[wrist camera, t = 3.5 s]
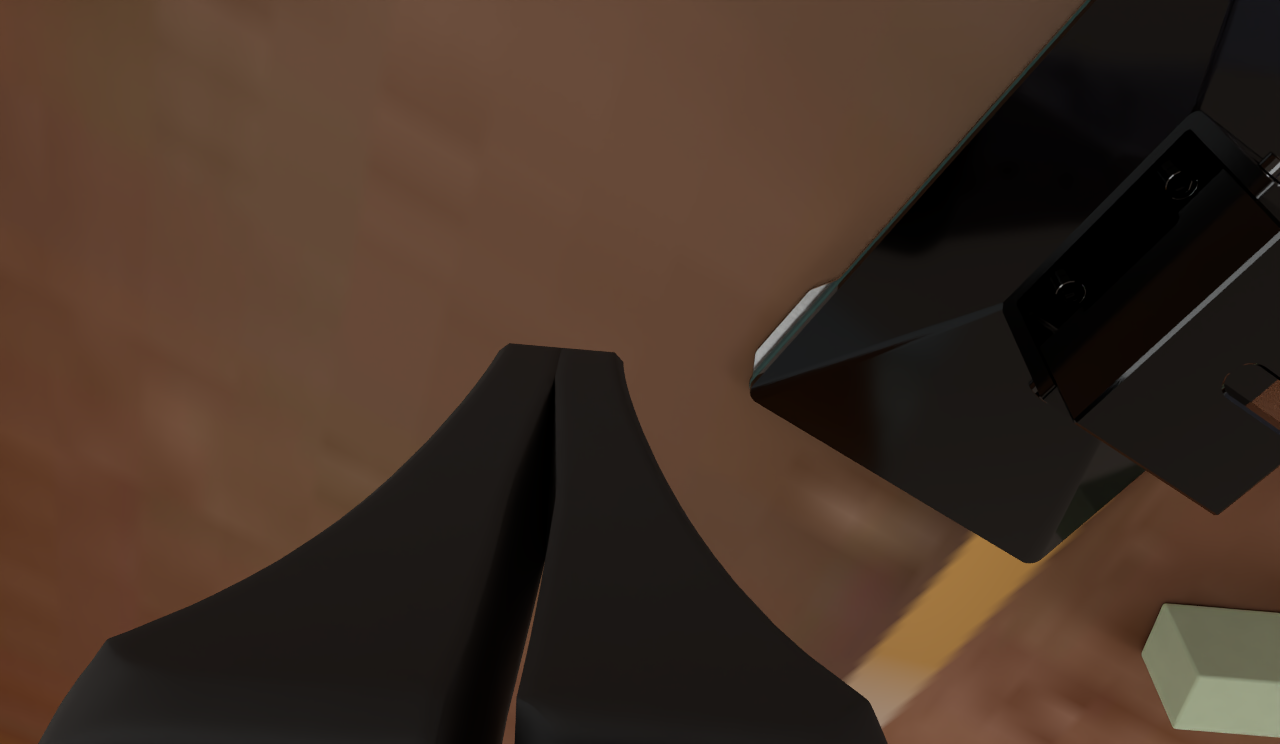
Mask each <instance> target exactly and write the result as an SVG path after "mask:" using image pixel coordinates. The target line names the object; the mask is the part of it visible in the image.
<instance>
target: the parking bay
mask: <svg viewBox="0 0 1280 744" xmlns="http://www.w3.org/2000/svg"><path fill="white" fill-rule="evenodd" d="M1142 657H1143V660H1144V662H1145V664H1146V667H1147V669H1148V671H1149V674H1150V676H1151V678H1152V681H1153V683H1154V685H1155V687H1156V690H1157V692H1158V694H1159V697H1160V699H1161V701H1162V704H1163V706H1164V708H1165V711H1166V713H1167V715H1168V717H1169V720H1170V722H1171V724H1172V727H1173V728H1175V729H1183V730H1195V731H1207V732H1219V733H1231V734H1243V735H1255V736H1267V737H1280V613H1274V612H1262V611H1251V610H1239V609H1227V608H1215V607H1203V606H1192V605H1180V604H1168V603H1165V604H1163V606H1162V608H1161V610H1160V613H1159V615H1158V617H1157V619H1156V622H1155V624H1154V626H1153V628H1152V631H1151V633H1150V635H1149V637H1148V640H1147V642H1146V644H1145V646H1144V649H1143V651H1142Z"/></svg>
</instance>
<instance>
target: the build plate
mask: <svg viewBox="0 0 1280 744" xmlns="http://www.w3.org/2000/svg"><path fill="white" fill-rule="evenodd" d="M1277 380H1280V0H1085V1H1084V2H1083V3H1082V4H1081V5H1080V6H1079V8H1078V9H1077V10H1076V11H1075V12H1074V13H1073V14H1072V15H1071V17H1070V18H1069V19H1068V20H1067V21H1066V22H1065V23H1064V24H1063V26H1062V27H1061V28H1060V29H1059V30H1058V31H1057V32H1056V33H1055V35H1054V36H1053V37H1052V38H1051V39H1050V40H1049V41H1048V42H1047V44H1046V45H1045V46H1044V47H1043V48H1042V49H1041V50H1040V52H1039V53H1038V54H1037V55H1036V56H1035V57H1034V58H1033V59H1032V61H1031V62H1030V63H1029V64H1028V65H1027V66H1026V67H1025V68H1024V70H1023V71H1022V72H1021V73H1020V74H1019V75H1018V76H1017V77H1016V79H1015V80H1014V81H1013V82H1012V83H1011V84H1010V85H1009V86H1008V88H1007V89H1006V90H1005V91H1004V92H1003V93H1002V94H1001V96H1000V97H999V98H998V99H997V100H996V101H995V102H994V103H993V105H992V106H991V107H990V108H989V109H988V110H987V111H986V112H985V114H984V115H983V116H982V117H981V118H980V119H979V120H978V121H977V123H976V124H975V125H974V126H973V127H972V128H971V129H970V130H969V132H968V133H967V134H966V135H965V136H964V137H963V138H962V140H961V141H960V142H959V143H958V144H957V145H956V146H955V147H954V149H953V150H952V151H951V152H950V153H949V154H948V155H947V156H946V158H945V159H944V160H943V161H942V162H941V163H940V164H939V165H938V167H937V168H936V169H935V170H934V171H933V172H932V173H931V175H930V176H929V177H928V178H927V179H926V180H925V181H924V182H923V184H922V185H921V186H920V187H919V188H918V189H917V190H916V191H915V193H914V194H913V195H912V196H911V197H910V198H909V199H908V200H907V202H906V203H905V204H904V205H903V206H902V207H901V208H900V209H899V211H898V212H897V213H896V214H895V215H894V216H893V217H892V219H891V220H890V221H889V222H888V223H887V224H886V225H885V226H884V228H883V229H882V230H881V231H880V232H879V233H878V234H877V235H876V237H875V238H874V239H873V240H872V241H871V242H870V243H869V244H868V246H867V247H866V248H865V249H864V250H863V251H862V252H861V253H860V255H859V256H858V257H857V258H856V259H855V260H854V261H853V263H852V264H851V265H850V266H849V267H848V268H847V269H846V270H845V272H844V273H843V274H842V275H841V276H840V277H839V278H837V279H835V280H832V281H830V282H827V283H824V284H822V285H819V286H816V287H814V288H811V289H810V290H808V292H807V293H806V294H805V295H804V296H803V297H802V298H801V300H800V301H799V302H798V303H797V304H796V305H795V306H794V307H793V309H792V310H791V311H790V312H789V313H788V314H787V315H786V317H785V318H784V319H783V320H782V321H781V322H780V323H779V325H778V326H777V327H776V328H775V329H774V330H773V331H772V333H771V334H770V335H769V336H768V337H767V338H766V339H765V341H764V342H763V343H762V344H761V345H760V346H759V347H758V349H757V350H756V352H755V360H754V367H753V374H752V377H751V378H750V382H749V384H750V385H749V387H750V395H751V397H752V399H753V400H754V401H755V402H757V403H758V404H760V405H762V406H763V407H765V408H767V409H768V410H770V411H772V412H773V413H775V414H777V415H778V416H780V417H782V418H783V419H785V420H787V421H788V422H790V423H792V424H793V425H795V426H797V427H798V428H800V429H802V430H803V431H805V432H807V433H808V434H810V435H812V436H813V437H815V438H817V439H818V440H820V441H822V442H823V443H825V444H827V445H828V446H830V447H832V448H833V449H835V450H837V451H838V452H840V453H842V454H843V455H845V456H847V457H848V458H850V459H852V460H853V461H855V462H857V463H858V464H860V465H862V466H863V467H865V468H867V469H868V470H870V471H872V472H873V473H875V474H877V475H878V476H880V477H882V478H883V479H885V480H887V481H888V482H890V483H892V484H893V485H895V486H897V487H898V488H900V489H902V490H903V491H905V492H907V493H908V494H910V495H912V496H913V497H915V498H917V499H918V500H920V501H922V502H923V503H925V504H927V505H929V506H930V507H932V508H934V509H935V510H937V511H939V512H940V513H942V514H944V515H945V516H947V517H949V518H950V519H952V520H954V521H955V522H957V523H959V524H960V525H962V526H964V527H965V528H967V529H969V530H970V531H972V532H974V533H975V534H977V535H979V536H980V537H982V538H984V539H985V540H987V541H989V542H990V543H992V544H994V545H996V546H997V547H999V548H1000V549H1002V550H1004V551H1005V552H1007V553H1009V554H1010V555H1012V556H1014V557H1015V558H1017V559H1019V560H1021V561H1022V562H1024V563H1035V562H1038V561H1039V560H1041V559H1042V558H1043V557H1045V556H1046V555H1047V554H1048V553H1049V552H1050V551H1052V550H1053V549H1054V548H1055V547H1056V546H1057V545H1059V544H1060V543H1061V542H1062V541H1063V540H1064V539H1066V538H1067V537H1068V536H1069V535H1070V534H1071V533H1073V532H1074V531H1075V530H1076V529H1077V528H1079V527H1080V526H1081V525H1082V524H1083V523H1084V522H1086V521H1087V520H1088V519H1089V518H1090V517H1091V516H1093V515H1094V514H1095V513H1096V512H1097V511H1098V510H1100V509H1101V508H1102V507H1103V506H1104V505H1105V504H1107V503H1108V502H1109V501H1110V500H1111V499H1113V498H1114V497H1115V496H1116V495H1117V494H1118V493H1120V492H1121V491H1122V490H1123V489H1124V488H1125V487H1127V486H1128V485H1129V484H1130V483H1131V482H1132V481H1134V480H1135V479H1136V478H1137V477H1138V476H1140V475H1141V474H1142V473H1143V472H1144V471H1145V470H1146V471H1148V472H1149V473H1151V474H1152V475H1154V476H1155V477H1157V478H1158V479H1160V480H1162V481H1163V482H1165V483H1166V484H1168V485H1169V486H1171V487H1172V488H1174V489H1175V490H1177V491H1178V492H1180V493H1181V494H1183V495H1184V496H1186V497H1187V498H1189V499H1191V500H1192V501H1194V502H1195V503H1197V504H1198V505H1200V506H1201V507H1203V508H1204V509H1206V510H1207V511H1209V512H1210V513H1212V514H1213V515H1219V514H1220V513H1221V512H1223V511H1224V510H1225V509H1226V508H1228V507H1229V506H1230V505H1231V504H1233V503H1234V502H1235V501H1236V500H1238V499H1239V498H1240V497H1241V496H1243V495H1244V494H1245V493H1246V492H1248V491H1249V490H1250V489H1251V488H1253V487H1254V486H1255V485H1256V484H1258V483H1259V482H1260V481H1261V480H1263V479H1264V478H1265V477H1266V476H1268V475H1269V474H1270V473H1271V472H1273V471H1274V470H1275V469H1276V468H1278V467H1279V466H1280V422H1279V421H1277V420H1276V419H1274V418H1273V417H1271V416H1270V415H1269V414H1267V413H1266V412H1264V411H1263V410H1262V409H1260V408H1259V407H1257V406H1256V405H1254V404H1253V403H1252V401H1253V400H1254V399H1256V398H1257V397H1258V396H1259V395H1260V394H1262V393H1263V392H1264V391H1265V390H1266V389H1268V388H1269V387H1270V386H1271V385H1272V384H1273V383H1275V382H1276V381H1277Z"/></svg>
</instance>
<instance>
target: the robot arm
mask: <svg viewBox="0 0 1280 744" xmlns="http://www.w3.org/2000/svg"><path fill="white" fill-rule="evenodd" d="M544 562H545V564H544ZM543 567H544V570H543ZM542 571H543V575H542ZM541 575H542V581H541V586H540V592H539V597H538V602H537V607H536V612H535V617H534V622H533V627H532V632H531V637H530V642H529V646H528V651H527V655H526V660H525V664H524V668H523V673H522V677H521V682H520V686H519V690H518V694H517V700H516V724H515V744H887V741H886V739H885V736H884V734H883V731H882V729H881V727H880V724H879V722H878V720H877V717H876V715H875V713H874V710H873V708H872V706H871V704H870V703H869V701H868V700H867V699H866V698H864V697H863V696H862V695H861V694H859V693H858V692H857V691H855V690H854V689H853V688H851V687H850V686H849V685H847V684H846V683H845V682H843V681H842V680H841V679H839V678H838V677H837V676H835V675H834V674H833V673H831V672H830V671H829V670H827V669H826V668H825V667H823V666H822V665H821V664H819V663H818V662H817V661H815V660H814V659H813V658H811V657H810V656H809V655H808V654H807V653H805V652H804V651H803V650H802V649H801V648H800V647H798V646H797V645H796V644H795V643H794V642H793V641H792V640H791V639H790V638H789V637H787V636H786V635H785V634H784V633H783V632H782V631H781V630H780V629H779V628H777V627H776V626H775V625H774V624H773V623H772V621H771V620H770V619H769V618H768V617H767V616H766V615H765V614H764V613H763V612H762V611H761V610H760V609H759V608H758V607H757V605H756V604H755V603H754V602H753V601H752V600H751V599H750V598H749V597H748V596H747V595H746V594H745V593H744V592H743V590H742V589H741V588H740V587H739V586H738V585H737V584H736V583H735V581H734V580H733V579H732V578H731V576H730V575H729V574H728V573H727V571H726V570H725V569H724V568H723V566H722V565H721V564H720V563H719V561H718V560H717V559H716V557H715V556H714V555H713V553H712V552H711V551H710V549H709V548H708V546H707V545H706V544H705V542H704V541H703V539H702V538H701V537H700V535H699V534H698V532H697V531H696V529H695V528H694V526H693V525H692V523H691V522H690V520H689V519H688V517H687V515H686V514H685V512H684V511H683V509H682V507H681V506H680V504H679V502H678V500H677V499H676V497H675V495H674V493H673V492H672V490H671V488H670V486H669V485H668V483H667V481H666V479H665V477H664V475H663V473H662V471H661V469H660V467H659V465H658V463H657V461H656V459H655V457H654V455H653V453H652V450H651V448H650V446H649V444H648V442H647V439H646V437H645V435H644V433H643V431H642V428H641V426H640V423H639V421H638V418H637V415H636V412H635V410H634V407H633V404H632V401H631V398H630V395H629V391H628V388H627V384H626V380H625V374H624V367H623V361H622V360H621V359H620V358H619V357H618V356H617V355H616V353H614V352H603V351H591V350H580V349H568V348H557V347H545V346H534V345H522V344H511V343H509V344H508V345H506V346H505V347H504V348H502V349H501V350H500V351H499V352H498V354H497V355H496V357H495V358H494V360H493V362H492V363H491V364H490V366H489V367H488V369H487V370H486V372H485V373H484V374H483V376H482V377H481V378H480V380H479V381H478V382H477V384H476V385H475V386H474V388H473V389H472V390H471V391H470V393H469V394H468V395H467V396H466V398H465V399H464V400H463V401H462V403H461V404H460V405H459V406H458V407H457V408H456V409H455V411H454V412H453V413H452V414H451V415H450V416H449V417H448V419H447V420H446V421H445V422H444V423H443V424H442V425H441V427H440V428H439V429H438V430H437V431H436V432H435V433H434V434H433V436H432V437H431V438H430V439H429V440H428V441H427V442H426V443H425V444H424V445H423V446H422V447H421V448H420V449H419V450H418V451H417V452H416V453H415V454H414V455H413V456H412V457H411V458H410V459H409V460H408V461H407V462H406V463H405V464H404V465H403V466H402V467H401V468H399V469H398V470H397V471H396V472H395V473H394V474H393V475H392V476H391V477H390V478H389V479H388V480H387V481H386V482H385V483H383V484H382V485H381V486H380V487H379V488H378V489H377V490H375V491H374V492H373V493H372V494H371V495H370V496H368V497H367V498H366V499H365V500H364V501H362V502H361V503H360V504H359V505H357V506H356V507H355V508H354V509H352V510H351V511H350V512H348V513H347V514H346V515H345V516H343V517H342V518H341V519H340V520H338V521H337V522H336V523H334V524H333V525H331V526H330V527H328V528H327V529H326V530H324V531H323V532H321V533H320V534H318V535H317V536H315V537H314V538H313V539H311V540H309V541H308V542H306V543H305V544H303V545H302V546H300V547H299V548H297V549H296V550H294V551H293V552H291V553H289V554H288V555H286V556H285V557H283V558H282V559H280V560H278V561H277V562H275V563H273V564H271V565H270V566H268V567H266V568H264V569H262V570H261V571H259V572H257V573H255V574H253V575H251V576H250V577H248V578H246V579H244V580H242V581H240V582H238V583H236V584H234V585H232V586H230V587H228V588H226V589H224V590H222V591H220V592H218V593H216V594H214V595H212V596H210V597H208V598H206V599H204V600H202V601H200V602H197V603H195V604H193V605H191V606H189V607H186V608H184V609H181V610H179V611H177V612H174V613H172V614H169V615H167V616H164V617H162V618H160V619H157V620H155V621H152V622H150V623H147V624H145V625H143V626H140V627H138V628H135V629H133V630H130V631H128V632H125V633H123V634H120V635H117V636H114V637H112V638H109V639H108V640H107V641H106V642H105V643H104V644H103V646H102V647H101V649H100V650H99V651H98V653H97V654H96V656H95V657H94V659H93V660H92V661H91V663H90V664H89V665H88V667H87V668H86V669H85V670H84V672H83V673H82V674H81V675H80V677H79V678H78V679H77V681H76V682H75V684H74V685H73V687H72V688H71V690H70V691H69V692H68V694H67V695H66V697H65V698H64V700H63V701H62V703H61V704H60V706H59V708H58V709H57V711H56V713H55V715H54V716H53V718H52V720H51V722H50V724H49V725H48V727H47V729H46V731H45V733H44V734H43V736H42V738H41V740H40V741H39V743H38V744H502V741H503V736H504V730H505V725H506V720H507V715H508V711H509V707H510V703H511V699H512V695H513V691H514V687H515V683H516V678H517V674H518V670H519V666H520V662H521V658H522V654H523V650H524V646H525V641H526V637H527V633H528V629H529V625H530V621H531V617H532V613H533V609H534V604H535V600H536V596H537V592H538V588H539V584H540V579H541Z"/></svg>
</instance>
